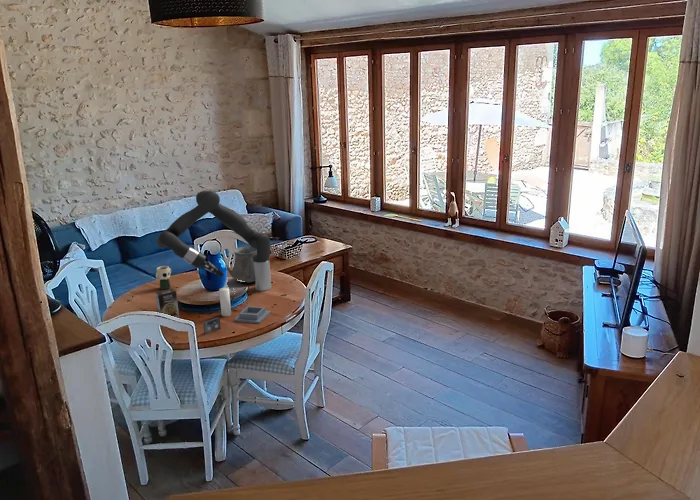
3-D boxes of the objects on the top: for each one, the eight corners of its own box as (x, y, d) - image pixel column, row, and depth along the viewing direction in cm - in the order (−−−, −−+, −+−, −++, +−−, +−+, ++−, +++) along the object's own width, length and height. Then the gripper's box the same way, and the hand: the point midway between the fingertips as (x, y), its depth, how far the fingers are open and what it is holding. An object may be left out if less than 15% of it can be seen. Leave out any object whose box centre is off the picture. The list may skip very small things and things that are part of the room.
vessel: (273, 275, 343) (271, 244, 337) (257, 287, 322) (254, 255, 317) (242, 272, 349) (239, 242, 343) (224, 284, 329) (221, 252, 323)
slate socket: (246, 310, 289) (245, 304, 288) (270, 312, 285) (270, 306, 284) (234, 321, 276) (233, 314, 275) (259, 323, 273) (259, 317, 272)
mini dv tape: (219, 328, 269) (218, 316, 267) (220, 329, 268) (219, 317, 266) (204, 333, 263) (202, 321, 262) (205, 334, 262) (204, 322, 261)
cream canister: (224, 312, 288) (222, 287, 284) (233, 313, 286) (230, 288, 282) (219, 315, 283) (217, 290, 279) (228, 316, 282) (226, 291, 278)
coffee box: (162, 325, 273) (158, 295, 269) (158, 321, 278) (154, 291, 274) (180, 320, 279) (176, 291, 274) (175, 316, 284) (172, 287, 279)
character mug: (162, 292, 319) (159, 271, 315) (154, 290, 322) (151, 269, 319) (176, 286, 328) (174, 265, 324) (168, 284, 331) (166, 264, 328)
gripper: (199, 252, 266) (227, 269, 271) (197, 250, 280) (225, 266, 285) (190, 265, 265) (219, 282, 270) (189, 262, 279) (217, 279, 284)
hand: (222, 274), depth 277 cm, fingers open, 8 cm apart
